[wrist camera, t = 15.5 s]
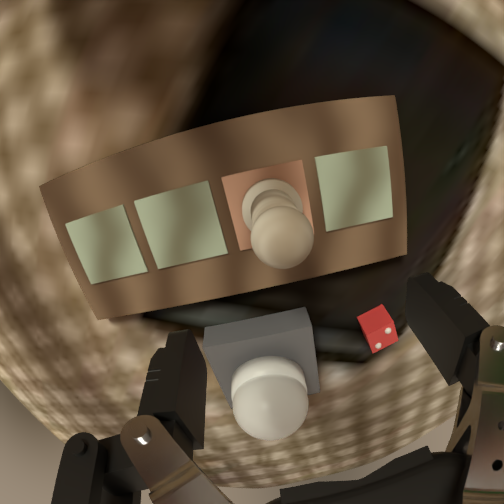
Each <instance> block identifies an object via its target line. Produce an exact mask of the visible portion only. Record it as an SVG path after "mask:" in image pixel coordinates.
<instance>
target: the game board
mask: <svg viewBox="0 0 504 504" xmlns="http://www.w3.org/2000/svg"><path fill="white" fill-rule="evenodd" d="M267 178H276V179H281V180H283V181H285V182H287V183H289V184H290V185H291V186H292V187H293V188H294V189H295V190H296V192H297V193H298V194H299V196H300V198H301V201H302V205H303V214H304V215H305V216H306V217H307V218H308V220H309V222H310V223H311V226H312V228H313V233H314V242H313V246H312V249H311V251H310V253H309V255H308V256H307V257H306V259H305V260H304V261H303V262H301V263H300V264H298V265H297V266H294V267H292V268H288V269H277V268H273V267H270V266H268V265H266V264H265V263H263V262H262V261H261V260H260V259H259V258H258V257H257V256H256V254H255V253H254V250H253V248H252V245H251V231H250V230H249V228H248V227H247V226H246V224H245V222H244V219H243V215H242V201H243V198H244V195H245V193H246V192H247V190H248V189H249V188H250V187H251V186H252V185H253V184H254V183H256V182H258V181H260V180H263V179H267ZM39 188H40V191H41V193H42V196H43V199H44V202H45V205H46V208H47V210H48V213H49V216H50V219H51V221H52V224H53V226H54V229H55V231H56V234H57V236H58V239H59V241H60V243H61V246H62V248H63V250H64V253H65V255H66V257H67V260H68V262H69V264H70V266H71V268H72V271H73V273H74V275H75V277H76V279H77V281H78V283H79V285H80V287H81V289H82V291H83V293H84V295H85V297H86V299H87V301H88V303H89V305H90V307H91V309H92V310H93V312H94V314H95V316H96V318H97V320H101V319H107V318H113V317H119V316H125V315H131V314H136V313H142V312H148V311H153V310H159V309H164V308H169V307H175V306H180V305H185V304H191V303H196V302H201V301H206V300H211V299H216V298H221V297H226V296H231V295H235V294H240V293H245V292H250V291H254V290H259V289H264V288H268V287H273V286H277V285H282V284H286V283H291V282H295V281H300V280H304V279H308V278H313V277H317V276H321V275H326V274H330V273H334V272H338V271H342V270H346V269H350V268H355V267H359V266H363V265H367V264H371V263H375V262H379V261H382V260H386V259H390V258H394V257H398V256H402V255H405V254H407V211H406V189H405V174H404V162H403V152H402V143H401V134H400V127H399V119H398V113H397V106H396V100H395V95H392V96H376V97H364V98H354V99H344V100H336V101H328V102H320V103H313V104H306V105H300V106H294V107H288V108H282V109H277V110H271V111H266V112H261V113H256V114H252V115H247V116H242V117H238V118H234V119H229V120H225V121H221V122H217V123H213V124H209V125H205V126H202V127H198V128H194V129H191V130H187V131H184V132H180V133H177V134H173V135H170V136H167V137H163V138H160V139H157V140H154V141H151V142H148V143H145V144H142V145H139V146H136V147H133V148H130V149H127V150H125V151H122V152H119V153H116V154H114V155H111V156H108V157H106V158H103V159H101V160H98V161H95V162H93V163H90V164H88V165H86V166H83V167H81V168H78V169H76V170H74V171H71V172H69V173H67V174H64V175H62V176H60V177H58V178H56V179H53V180H51V181H49V182H47V183H45V184H43V185H41V186H39Z"/></svg>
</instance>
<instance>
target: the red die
mask: <svg viewBox="0 0 504 504" xmlns="http://www.w3.org/2000/svg"><path fill="white" fill-rule="evenodd" d="M357 319H358V322H359V324H360V327H361V329H362V332H363V335H364V337H365V339H366V341H367V343H368V345H369V347H370V349H371V351H372V353H375V352H377V351H379V350H381V349H383V348H385V347H387V346H389V345H391V344H392V343H394V342H396V341H398V337H397V333H396V329H395V325H394V322H393V320H392V318H391V317H390V315H389V314H388V312H387V311H386V309H385V308H384V306H383V305H380V306H378V307H376V308H374V309H372V310H370V311H368V312H366V313H364V314H362V315H360V316H358V317H357Z"/></svg>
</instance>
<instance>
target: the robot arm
mask: <svg viewBox="0 0 504 504" xmlns="http://www.w3.org/2000/svg"><path fill="white" fill-rule="evenodd" d="M405 315H406V320H407V323H408V325H409V327H410V328H411V329H412V331H413V332H414V334H415V335H416V337H417V338H418V339H419V341H420V342H421V344H422V345H423V347H424V348H425V350H426V351H427V353H428V354H429V356H430V357H431V359H432V360H433V362H434V363H435V365H436V366H437V368H438V369H439V371H440V373H441V374H442V376H443V377H444V379H445V380H446V382H447V384H448V385H449V386H450V385H452V384H454V383H456V382H458V381H460V383H461V384H462V387H461V390H460V395H459V401H458V407H457V413H456V418H455V423H454V428H453V432H452V435H451V438H450V441H449V443H448V445H447V448H446V451H445V452H433V453H431V452H430V450H429V448H428V446H425V447H423V448H420V449H418V450H416V451H413V452H411V453H408V454H406V455H403V456H401V457H398V458H395V459H394V460H392V461H391V462H389V463H387V464H386V465H384V466H383V467H381V468H380V469H378V470H376V471H374V472H373V473H371V474H369V475H368V476H366V477H364V478H362V479H359V480H351V481H329V482H315V483H310V484H305V485H300V486H296V487H290V488H284V489H280V495H281V497H279V498H277V499H274V500H273V501H270V502H268V503H267V504H504V327H503V326H498V325H494V326H490V325H489V324H488V323H487V322H486V321H485V320H484V319H483V318H482V316H481V315H480V314H479V313H478V312H477V311H476V310H475V309H474V308H473V307H472V306H471V305H470V304H469V303H467V301H466V300H465V299H464V298H463V297H461V295H460V294H459V293H458V292H457V291H456V290H455V289H454V288H453V287H452V286H450V285H448V284H446V283H443V282H438V281H437V280H436V279H435V278H434V277H433V276H432V275H431V274H429V273H427V272H426V273H423V274H419V275H416V276H413V277H410V278H409V279H408V282H407V296H406V308H405ZM206 386H207V368H206V363H205V360H204V358H203V355H202V353H201V351H200V349H199V346H198V344H197V342H196V340H195V337H194V335H193V333H192V331H191V330H190V329H187V330H182V331H176V332H170V333H169V334H168V338H167V342H166V347H165V348H159V349H158V350H157V351H156V353H155V354H154V356H153V357H152V358H151V361H150V364H149V368H148V373H147V376H146V382H145V385H144V389H143V393H142V397H141V401H140V406H139V410H138V414H137V417H134V418H132V419H131V420H129V421H128V422H127V423H126V424H125V425H124V427H123V429H122V431H121V434H118V435H115V436H112V437H108V438H105V439H101V440H97V439H96V438H95V437H94V436H93V435H92V434H90V433H86V432H82V433H78V434H75V435H74V436H72V437H71V438H70V439H69V440H68V441H67V443H66V444H65V447H64V450H63V454H62V458H61V461H60V465H59V469H58V474H57V478H56V483H55V487H54V492H53V497H52V502H51V504H140V502H141V490H145V489H150V492H151V493H149V497H150V499H151V501H152V503H153V504H234V503H233V502H232V501H230V499H229V498H228V497H227V496H226V495H225V494H223V492H221V490H220V489H219V488H218V487H217V486H216V485H215V484H214V483H213V482H212V481H211V480H210V479H209V478H208V477H207V476H206V475H205V473H204V472H203V471H202V470H201V469H200V468H199V467H198V466H197V464H196V463H195V462H194V461H193V450H198V449H204V427H205V405H206Z"/></svg>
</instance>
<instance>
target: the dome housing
mask: <svg viewBox="0 0 504 504" xmlns="http://www.w3.org/2000/svg"><path fill="white" fill-rule="evenodd" d="M203 350H204V352H205V354H206V356H207V359H208V361H209V363H210V365H211V367H212V370H213V372H214V374H215V376H216V378H217V380H218V383H219V385H220V387H221V389H222V391H223V393H224V395H225V397H226V399H227V401H228V403H229V405H230V407H231V409H233V402H232V398H231V380H232V376H233V374H234V372H235V371H236V369H237V368H238V367H239V366H241V365H242V364H244V363H245V362H247V361H249V360H252V359H255V358H259V357H264V356H279V357H284V358H288V359H290V360H292V361H294V362H296V363H297V364H298V365H299V366H300V367H301V368H302V370H303V373H304V378H305V382H306V386H307V395H311V394H315V393H319V392H320V386H319V378H318V369H317V361H316V353H315V346H314V338H313V331H312V325H311V322H310V319H309V316H308V313H307V310H306V307H302V308H298V309H293V310H289V311H284V312H280V313H275V314H270V315H266V316H261V317H256V318H251V319H246V320H241V321H236V322H231V323H226V324H220V325H215V326H209V327H205V332H204V340H203Z"/></svg>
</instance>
